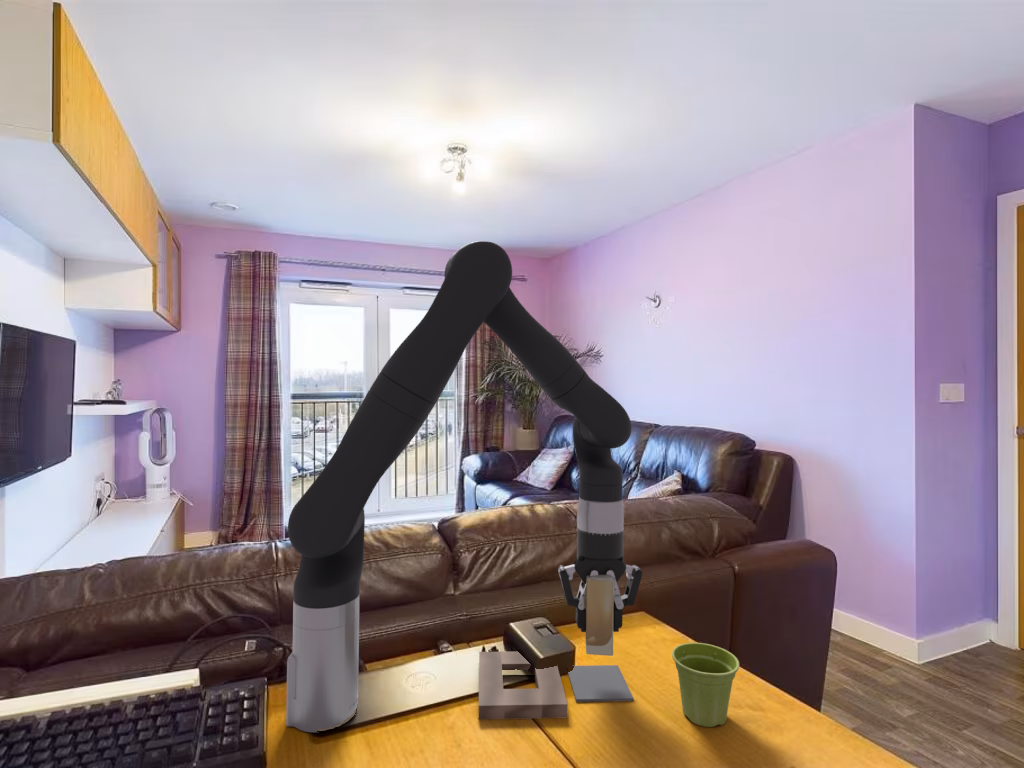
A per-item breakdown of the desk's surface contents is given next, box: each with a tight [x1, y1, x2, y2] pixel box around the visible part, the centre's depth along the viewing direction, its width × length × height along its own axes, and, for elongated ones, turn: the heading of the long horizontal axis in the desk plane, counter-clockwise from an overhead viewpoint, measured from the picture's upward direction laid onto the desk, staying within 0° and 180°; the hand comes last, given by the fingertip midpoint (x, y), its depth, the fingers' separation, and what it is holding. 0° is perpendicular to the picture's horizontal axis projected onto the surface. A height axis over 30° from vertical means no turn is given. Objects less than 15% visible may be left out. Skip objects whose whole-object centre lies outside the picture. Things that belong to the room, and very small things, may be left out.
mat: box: [567, 664, 635, 703], centre depth 89 cm, size 9×10×1 cm
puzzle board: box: [478, 650, 568, 720], centre depth 87 cm, size 13×16×2 cm
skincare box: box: [584, 575, 614, 657], centre depth 89 cm, size 6×4×12 cm
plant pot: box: [671, 642, 740, 728], centre depth 81 cm, size 9×9×9 cm
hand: (599, 629), depth 89 cm, fingers closed on skincare box, 4 cm apart
